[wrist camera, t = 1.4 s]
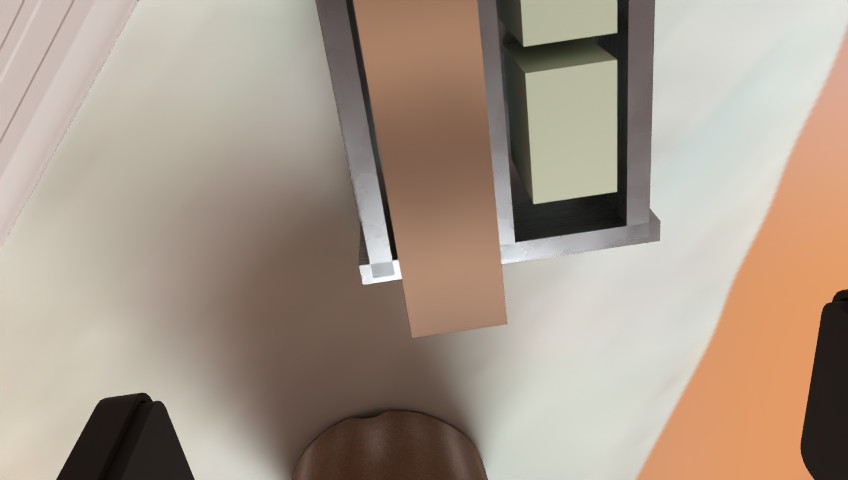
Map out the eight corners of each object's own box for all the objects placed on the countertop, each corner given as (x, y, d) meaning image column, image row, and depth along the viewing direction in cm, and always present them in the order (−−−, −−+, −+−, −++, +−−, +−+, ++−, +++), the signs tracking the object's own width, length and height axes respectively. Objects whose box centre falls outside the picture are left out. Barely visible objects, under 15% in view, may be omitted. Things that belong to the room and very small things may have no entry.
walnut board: (353, -100, 27) (339, -82, 16) (428, -111, 27) (467, -102, 16) (398, 177, 33) (412, 337, 21) (460, 167, 33) (506, 323, 21)
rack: (281, -185, 27) (263, -196, 22) (626, -237, 27) (676, -260, 22) (364, 233, 35) (362, 284, 31) (623, 195, 35) (659, 240, 31)
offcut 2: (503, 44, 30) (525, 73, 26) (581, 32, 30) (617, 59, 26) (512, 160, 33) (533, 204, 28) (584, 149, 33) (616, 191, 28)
